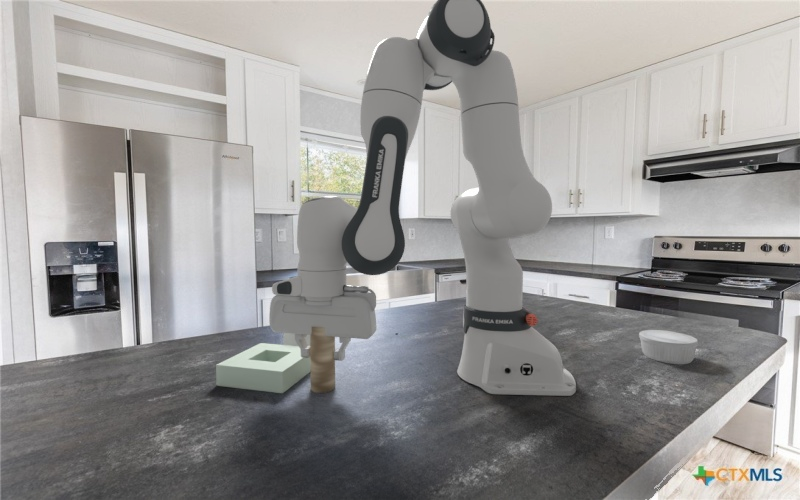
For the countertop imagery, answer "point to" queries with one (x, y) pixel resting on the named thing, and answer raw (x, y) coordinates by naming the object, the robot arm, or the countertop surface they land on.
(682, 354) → the ramekin
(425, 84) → the robot arm
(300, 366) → the socket block
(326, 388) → the maple peg
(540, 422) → the countertop surface
